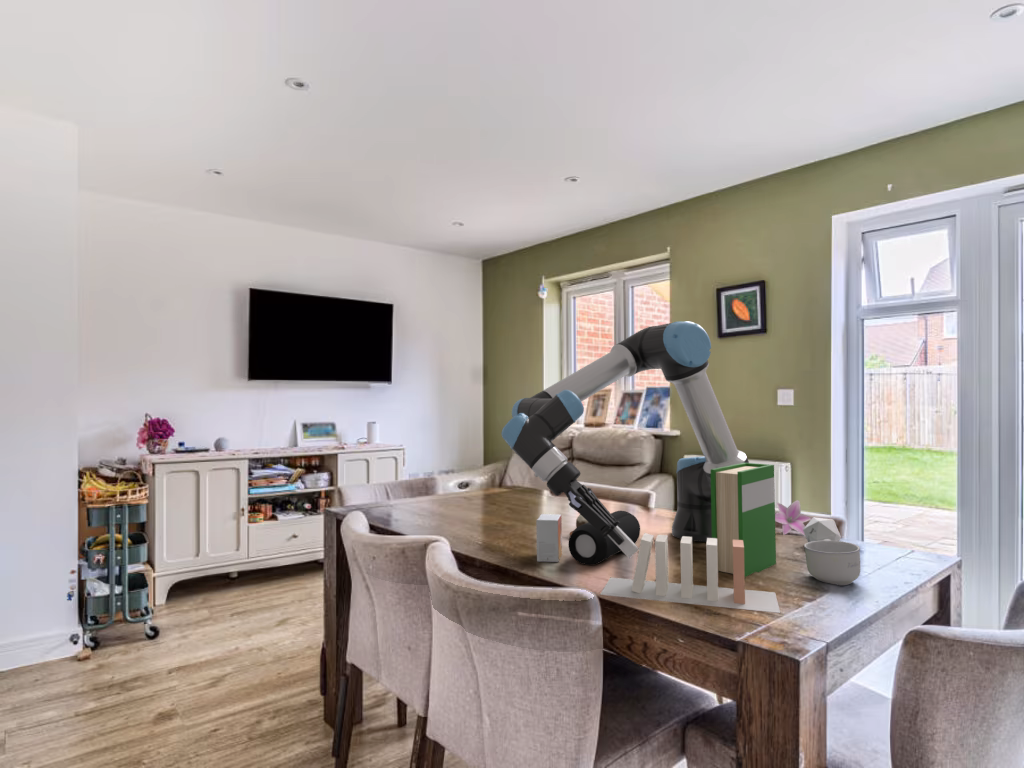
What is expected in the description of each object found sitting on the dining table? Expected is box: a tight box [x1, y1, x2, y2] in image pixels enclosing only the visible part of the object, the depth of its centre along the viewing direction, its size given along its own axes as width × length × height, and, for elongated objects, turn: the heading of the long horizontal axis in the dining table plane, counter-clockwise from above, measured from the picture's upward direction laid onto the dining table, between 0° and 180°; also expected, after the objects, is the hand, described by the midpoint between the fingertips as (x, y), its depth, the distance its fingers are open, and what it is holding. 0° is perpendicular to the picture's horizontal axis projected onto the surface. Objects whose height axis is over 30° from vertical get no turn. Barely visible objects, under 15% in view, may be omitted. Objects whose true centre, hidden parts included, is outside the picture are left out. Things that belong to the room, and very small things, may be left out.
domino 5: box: [732, 540, 746, 604], centre depth 119 cm, size 2×6×11 cm, turn 160°
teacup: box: [803, 539, 861, 586], centre depth 132 cm, size 14×11×8 cm
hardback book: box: [711, 462, 777, 578], centre depth 141 cm, size 18×7×24 cm, turn 134°
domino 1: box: [632, 532, 655, 594], centre depth 125 cm, size 2×6×11 cm, turn 160°
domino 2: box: [654, 534, 670, 596], centre depth 124 cm, size 2×6×11 cm, turn 160°
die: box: [803, 516, 842, 543], centre depth 158 cm, size 8×9×10 cm
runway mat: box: [599, 577, 781, 614], centre depth 122 cm, size 34×12×1 cm, turn 70°
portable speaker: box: [567, 510, 641, 566], centre depth 154 cm, size 26×10×10 cm, turn 145°
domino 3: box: [679, 536, 694, 599], centre depth 122 cm, size 2×6×11 cm, turn 160°
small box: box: [535, 513, 563, 563], centre depth 152 cm, size 8×6×10 cm
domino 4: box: [705, 538, 719, 601], centre depth 121 cm, size 2×6×11 cm, turn 160°
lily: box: [775, 499, 812, 536], centre depth 177 cm, size 11×11×9 cm
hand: (634, 553), depth 126 cm, fingers closed
